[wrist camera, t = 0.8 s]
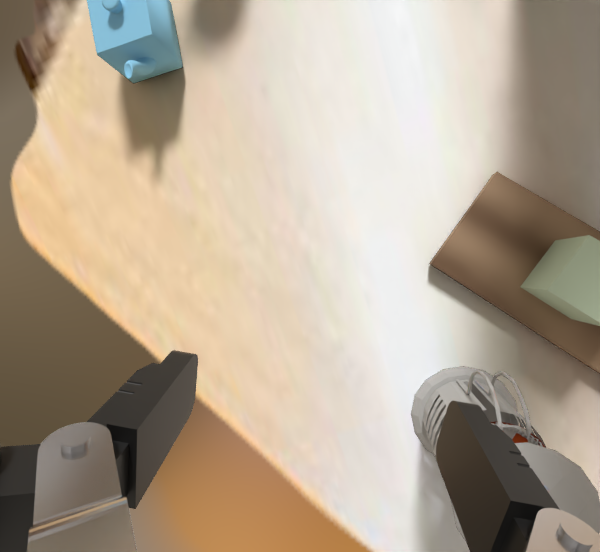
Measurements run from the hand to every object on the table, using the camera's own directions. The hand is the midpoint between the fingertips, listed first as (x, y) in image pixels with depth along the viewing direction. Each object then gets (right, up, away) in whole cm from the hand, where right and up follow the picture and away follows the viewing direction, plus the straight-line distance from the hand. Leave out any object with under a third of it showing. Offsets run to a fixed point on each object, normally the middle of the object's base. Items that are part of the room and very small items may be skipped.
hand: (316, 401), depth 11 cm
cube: (+23, +4, +20) cm, 31 cm away
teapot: (-16, +28, +29) cm, 44 cm away
